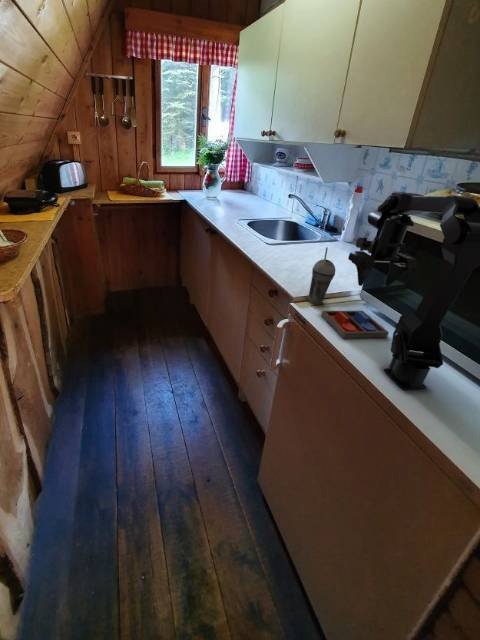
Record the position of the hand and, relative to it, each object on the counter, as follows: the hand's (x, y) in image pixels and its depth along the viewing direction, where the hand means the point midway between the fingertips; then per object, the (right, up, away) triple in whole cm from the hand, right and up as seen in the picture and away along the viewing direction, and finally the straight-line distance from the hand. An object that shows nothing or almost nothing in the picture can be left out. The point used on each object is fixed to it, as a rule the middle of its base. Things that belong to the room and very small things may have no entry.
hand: (373, 285), depth 92 cm
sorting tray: (-5, -13, +2) cm, 14 cm away
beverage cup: (-12, -7, +15) cm, 20 cm away
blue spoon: (-2, -12, +2) cm, 13 cm away
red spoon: (-9, -12, +1) cm, 15 cm away
